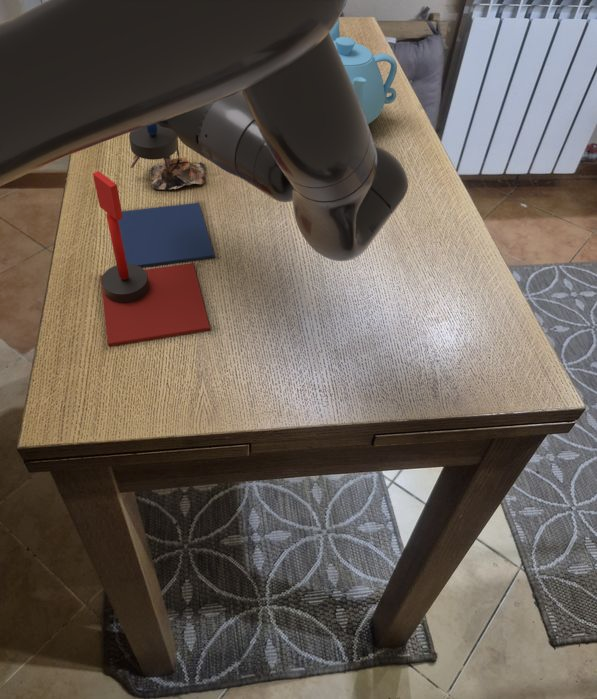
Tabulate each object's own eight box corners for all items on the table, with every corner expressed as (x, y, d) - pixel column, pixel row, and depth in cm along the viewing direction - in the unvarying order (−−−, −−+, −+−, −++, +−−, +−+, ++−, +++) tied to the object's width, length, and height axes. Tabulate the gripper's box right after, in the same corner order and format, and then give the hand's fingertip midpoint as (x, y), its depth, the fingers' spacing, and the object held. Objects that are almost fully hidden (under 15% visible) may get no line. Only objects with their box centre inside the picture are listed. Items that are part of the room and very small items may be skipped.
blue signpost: (149, 165, 72) (129, 21, 60) (121, 145, 75) (96, 3, 63) (187, 148, 75) (174, 8, 63) (159, 130, 78) (141, -9, 66)
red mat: (108, 347, 72) (107, 343, 72) (101, 278, 79) (100, 275, 79) (210, 330, 75) (209, 327, 74) (193, 266, 82) (193, 262, 82)
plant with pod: (140, 159, 98) (121, 28, 83) (211, 166, 98) (205, 36, 83) (127, 189, 92) (104, 54, 77) (202, 196, 92) (194, 62, 77)
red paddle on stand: (121, 310, 75) (97, 200, 63) (94, 286, 78) (66, 177, 66) (158, 288, 78) (142, 180, 66) (131, 266, 80) (111, 158, 68)
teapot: (326, 87, 118) (334, 9, 107) (408, 127, 110) (425, 47, 99) (266, 115, 109) (269, 33, 99) (351, 161, 101) (363, 77, 91)
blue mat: (124, 270, 81) (123, 267, 80) (115, 215, 88) (115, 212, 88) (214, 258, 83) (214, 255, 83) (199, 205, 91) (198, 202, 90)
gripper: (279, 74, 63) (173, 19, 70) (174, 116, 56) (68, 50, 64) (277, 140, 69) (179, 83, 76) (180, 186, 62) (83, 118, 69)
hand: (129, 68), depth 70 cm, fingers closed on blue signpost, 1 cm apart
